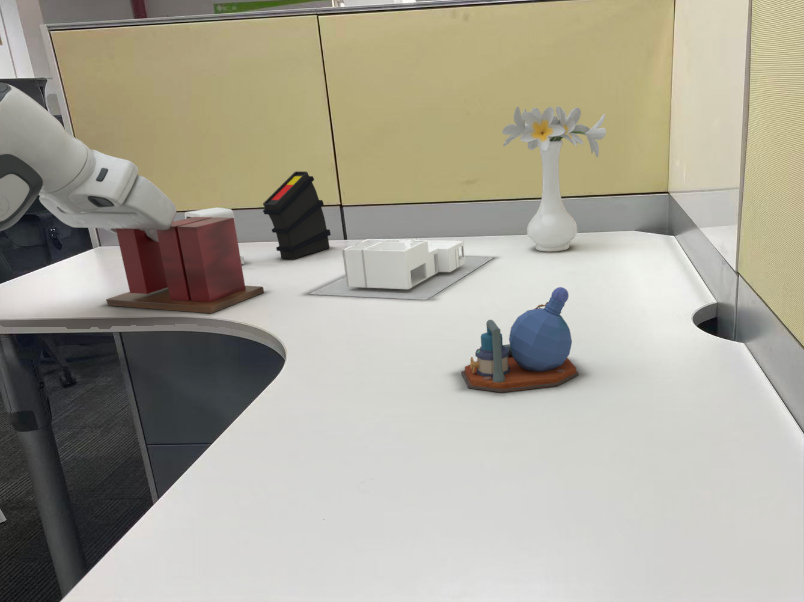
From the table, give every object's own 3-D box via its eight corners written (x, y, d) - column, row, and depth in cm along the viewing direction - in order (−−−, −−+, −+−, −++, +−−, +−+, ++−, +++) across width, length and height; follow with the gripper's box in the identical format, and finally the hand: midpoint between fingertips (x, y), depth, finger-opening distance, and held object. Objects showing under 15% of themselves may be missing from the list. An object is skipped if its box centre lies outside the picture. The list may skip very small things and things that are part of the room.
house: (431, 297, 117) (428, 256, 115) (321, 291, 123) (316, 253, 121) (485, 263, 137) (483, 227, 135) (388, 260, 143) (385, 226, 140)
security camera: (193, 267, 147) (183, 211, 143) (229, 260, 151) (219, 206, 148) (210, 271, 142) (200, 214, 139) (246, 264, 147) (237, 208, 144)
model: (561, 355, 92) (560, 275, 88) (586, 382, 83) (585, 295, 80) (457, 367, 89) (452, 285, 86) (472, 396, 81) (466, 307, 78)
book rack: (211, 313, 116) (196, 230, 111) (107, 305, 123) (89, 226, 118) (264, 292, 126) (251, 215, 122) (165, 286, 133) (150, 213, 129)
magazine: (341, 236, 160) (310, 170, 149) (304, 278, 152) (269, 211, 142) (326, 235, 161) (294, 170, 151) (289, 277, 154) (253, 211, 143)
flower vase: (616, 248, 146) (616, 102, 137) (520, 259, 140) (514, 108, 131) (586, 236, 157) (584, 101, 148) (496, 246, 152) (489, 106, 143)
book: (147, 294, 122) (131, 220, 118) (129, 293, 123) (113, 220, 119) (185, 281, 128) (171, 212, 125) (168, 280, 130) (154, 211, 126)
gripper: (13, 198, 113) (86, 253, 125) (122, 199, 106) (189, 257, 118) (32, 162, 115) (103, 219, 127) (141, 160, 108) (205, 221, 120)
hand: (145, 237), depth 122 cm, fingers closed on book, 3 cm apart
